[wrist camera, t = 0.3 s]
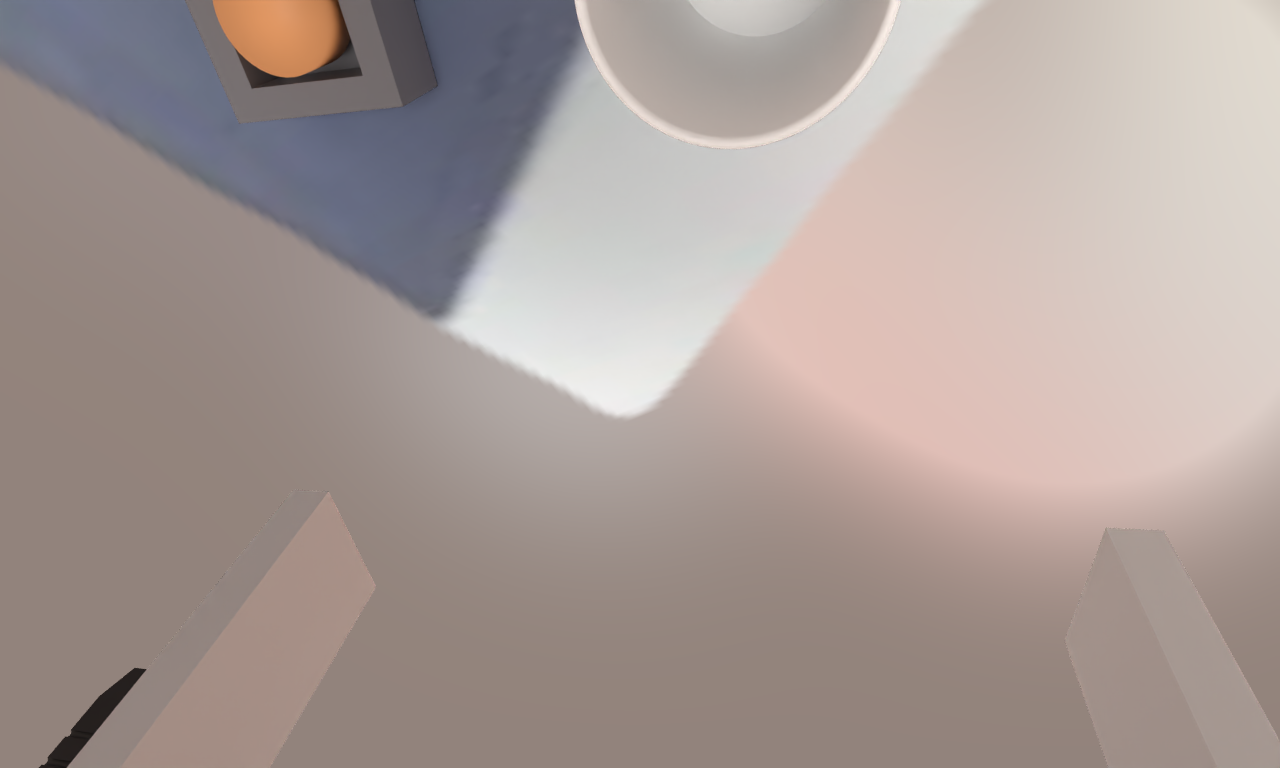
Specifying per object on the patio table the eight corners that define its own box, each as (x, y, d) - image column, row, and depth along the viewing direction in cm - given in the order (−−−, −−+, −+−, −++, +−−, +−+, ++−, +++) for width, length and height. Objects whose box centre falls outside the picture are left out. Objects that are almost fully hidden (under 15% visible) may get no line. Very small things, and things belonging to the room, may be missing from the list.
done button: (225, -51, 32) (190, -47, 30) (326, -68, 31) (296, -65, 29) (273, 71, 35) (244, 82, 33) (368, 60, 34) (343, 71, 32)
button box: (206, -97, 33) (143, -94, 30) (377, -129, 31) (330, -129, 28) (285, 102, 38) (239, 123, 35) (437, 85, 36) (402, 106, 33)
